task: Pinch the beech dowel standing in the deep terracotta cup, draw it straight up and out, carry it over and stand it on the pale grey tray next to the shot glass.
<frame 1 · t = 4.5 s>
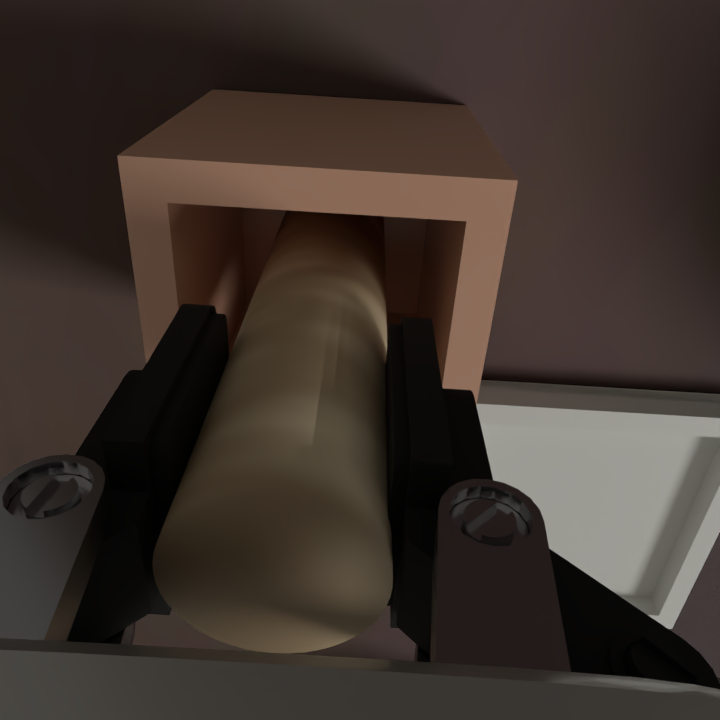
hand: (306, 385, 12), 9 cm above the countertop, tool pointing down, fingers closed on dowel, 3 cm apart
cup: (335, 220, 20), on the countertop
tray: (563, 501, 25), on the countertop
dowel: (334, 226, 19), point 1 cm above the countertop, touching cup, gripper
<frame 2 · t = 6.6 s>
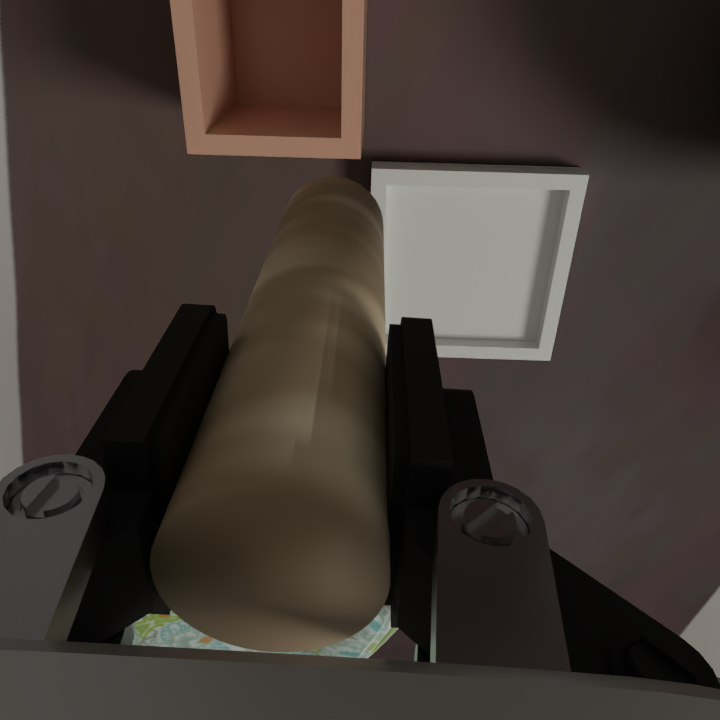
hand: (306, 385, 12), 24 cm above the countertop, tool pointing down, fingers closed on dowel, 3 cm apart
towel: (259, 576, 52), on the countertop
cup: (292, 42, 31), on the countertop
tray: (464, 261, 36), on the countertop
dowel: (333, 226, 19), point 16 cm above the countertop, touching gripper
when the fingers open (10 cm above the countertop, at t = 9.0 s): dowel stays where it is, resting on tray.
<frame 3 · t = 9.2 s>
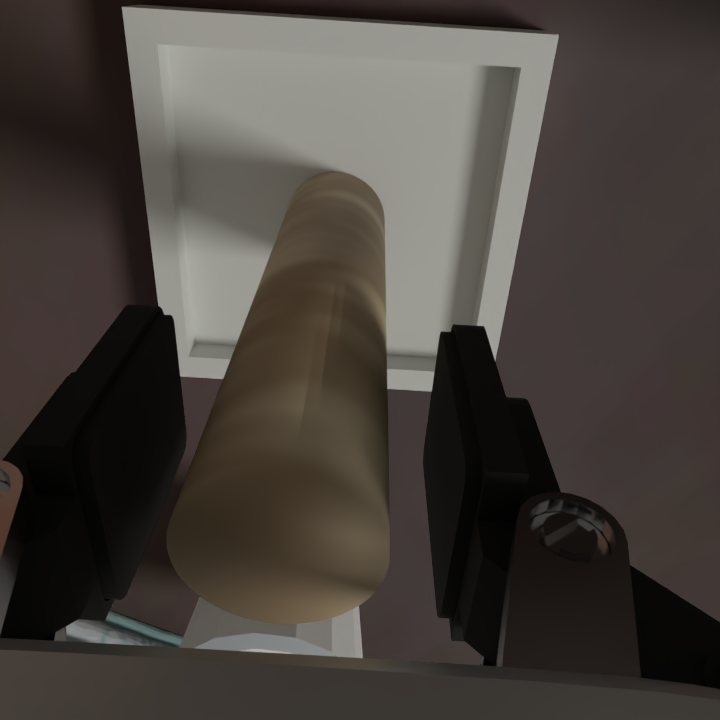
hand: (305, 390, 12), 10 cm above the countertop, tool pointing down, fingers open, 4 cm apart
towel: (73, 690, 35), on the countertop
tray: (336, 214, 20), on the countertop
shot glass: (290, 540, 28), on the countertop
dowel: (335, 220, 20), point 1 cm above the countertop, touching tray
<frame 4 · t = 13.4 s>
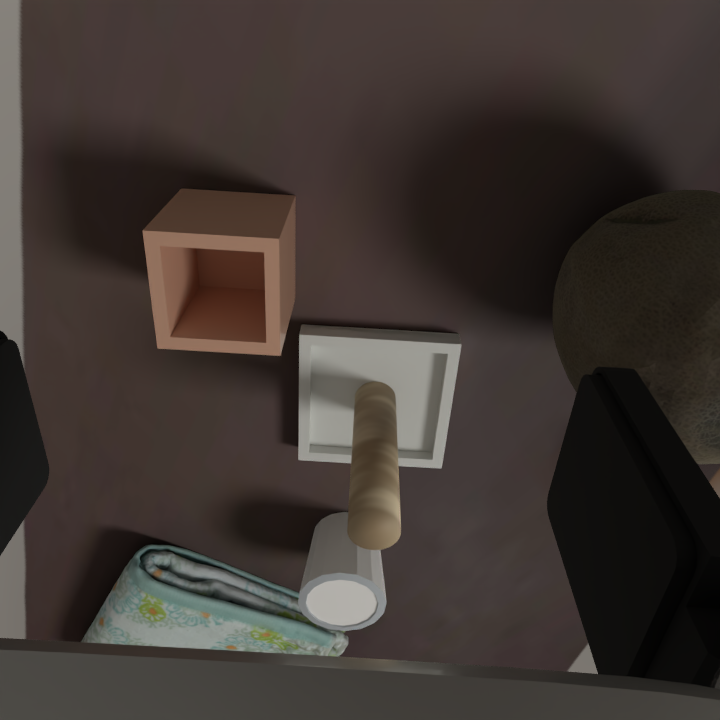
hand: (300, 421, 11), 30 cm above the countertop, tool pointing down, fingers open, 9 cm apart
towel: (216, 620, 62), on the countertop
cup: (240, 245, 41), on the countertop
tray: (375, 394, 47), on the countertop
shot glass: (346, 533, 55), on the countertop
cantaloupe: (636, 269, 42), on the countertop
dowel: (375, 398, 47), point 1 cm above the countertop, touching tray
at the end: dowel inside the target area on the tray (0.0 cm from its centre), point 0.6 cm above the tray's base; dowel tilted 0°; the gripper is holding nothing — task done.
